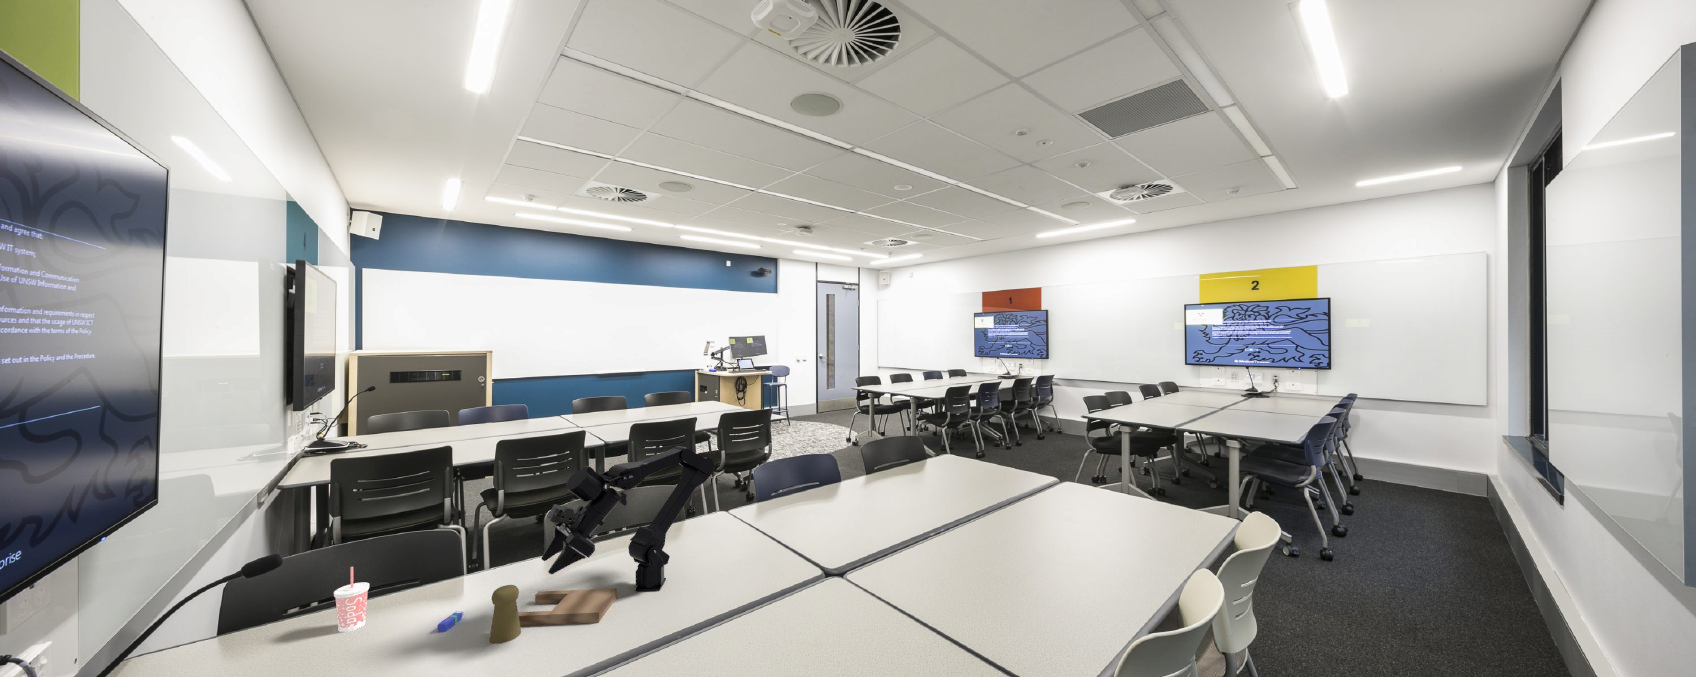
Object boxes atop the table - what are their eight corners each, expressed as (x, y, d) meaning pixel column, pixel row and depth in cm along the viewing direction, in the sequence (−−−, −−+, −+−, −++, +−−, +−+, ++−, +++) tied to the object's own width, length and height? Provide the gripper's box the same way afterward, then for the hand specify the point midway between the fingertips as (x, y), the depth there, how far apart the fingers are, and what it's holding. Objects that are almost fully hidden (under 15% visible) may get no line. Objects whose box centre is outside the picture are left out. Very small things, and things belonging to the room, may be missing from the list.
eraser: (464, 618, 127) (464, 610, 127) (445, 632, 121) (445, 623, 121) (456, 618, 127) (456, 610, 127) (437, 632, 121) (437, 623, 121)
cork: (527, 631, 121) (527, 583, 121) (502, 645, 115) (502, 595, 115) (508, 626, 123) (508, 579, 123) (482, 640, 117) (482, 591, 117)
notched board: (616, 597, 137) (616, 588, 137) (598, 622, 125) (598, 612, 125) (538, 600, 135) (538, 591, 135) (512, 626, 123) (512, 615, 123)
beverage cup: (329, 636, 119) (328, 574, 119) (339, 623, 124) (339, 564, 124) (364, 629, 122) (364, 569, 121) (373, 616, 127) (373, 559, 127)
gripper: (563, 483, 135) (512, 536, 128) (579, 501, 120) (523, 562, 113) (596, 507, 140) (549, 560, 133) (616, 527, 125) (564, 587, 118)
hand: (546, 566), depth 124 cm, fingers open, 9 cm apart
